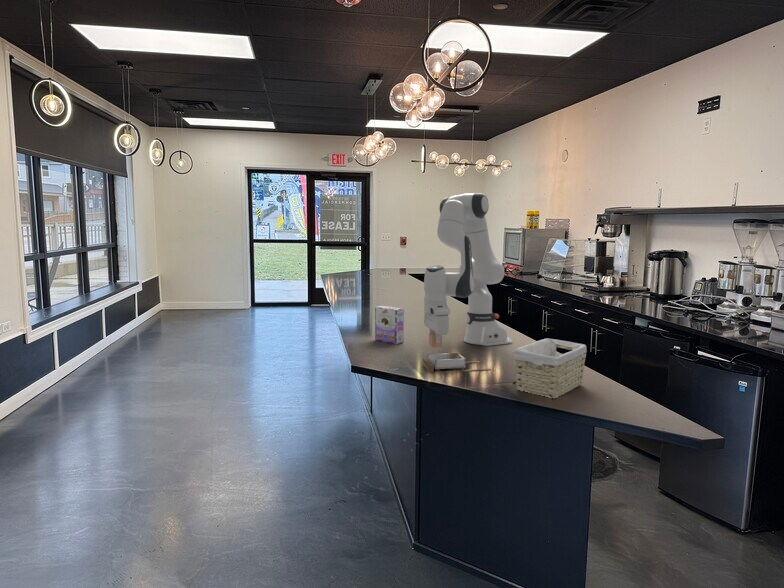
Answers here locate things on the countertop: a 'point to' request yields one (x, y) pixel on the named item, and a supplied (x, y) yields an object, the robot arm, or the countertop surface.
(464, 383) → the countertop surface
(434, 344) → the block
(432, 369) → the track
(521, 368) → the storage basket
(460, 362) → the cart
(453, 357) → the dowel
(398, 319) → the candy box
